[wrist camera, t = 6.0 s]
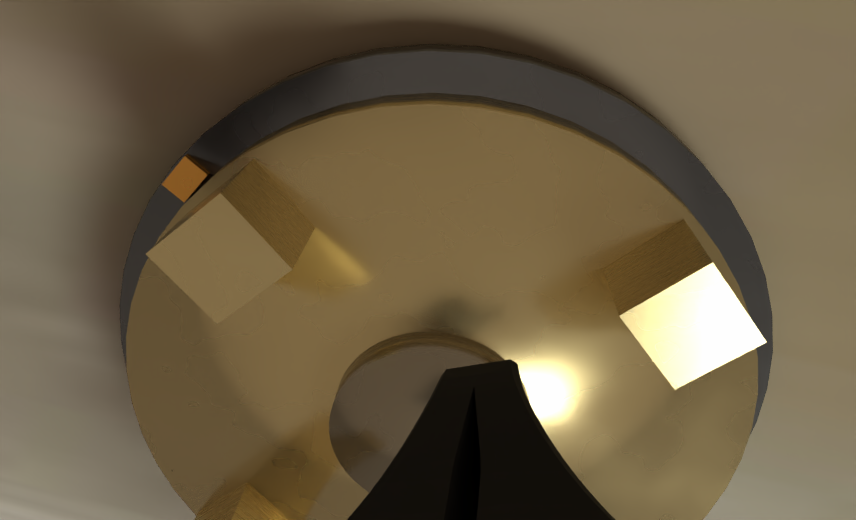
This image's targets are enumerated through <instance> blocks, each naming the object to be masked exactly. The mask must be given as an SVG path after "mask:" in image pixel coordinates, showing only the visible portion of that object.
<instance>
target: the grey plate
mask: <svg viewBox="0 0 856 520" xmlns="http://www.w3.org/2000/svg"><path fill="white" fill-rule="evenodd" d="M419 93H446V94H460V95H473V96H483V97H488V98H493V99H498V100H502V101H507V102H512V103H517V104H522V105H527V106H530V107H533V108H535V109H538V110H541V111H544V112H547V113H550V114H553V115H555V116H558V117H561V118H564V119H567V120H570V121H572V122H574V123H576V124H578V125H580V126H582V127H584V128H586V129H588V130H590V131H592V132H594V133H596V134H598V135H600V136H602V137H603V138H605V139H607V140H609V141H611V142H613V143H614V144H616V145H617V146H619V147H620V148H621V149H623V150H624V151H626V152H627V153H629V154H630V155H631V156H633V157H634V158H636V159H637V160H639V161H640V162H641V163H643V164H644V165H646V166H647V167H648V168H649V169H651V170H652V171H653V172H654V173H655V174H656V175H657V176H658V177H659V178H660V179H661V180H662V181H663V182H664V183H665V184H666V185H667V186H669V187H670V188H671V189H672V190H673V191H674V192H675V193H676V194H677V195H678V196H679V197H680V198H681V200H682V201H683V202H684V203H685V205H686V206H687V207H688V209H689V210H690V211H691V212H692V214H693V215H694V216H695V218H696V219H697V220H698V221H699V223H700V224H701V225H702V227H703V228H704V229H705V231H706V232H707V233H708V235H709V236H710V238H711V239H712V240H713V242H714V243H715V245H716V246H717V247H718V249H719V250H720V252H721V254H722V256H723V258H724V259H725V261H726V263H727V265H728V267H729V268H730V270H731V272H732V274H733V276H734V277H735V279H736V281H737V283H738V285H739V287H740V290H741V293H742V296H743V299H744V301H745V304H746V307H747V310H748V313H749V315H750V318H751V320H752V321H753V323H754V324H755V326H756V327H757V329H758V330H759V332H760V333H761V335H762V336H763V338H764V339H765V341H766V343H764V344H762V345H760V346H758V347H756V350H757V355H758V396H757V402H756V408H755V414H754V420H753V426H752V429H751V432H752V430H753V428H754V426H755V424H756V422H757V418H758V415H759V412H760V409H761V406H762V403H763V400H764V397H765V393H766V390H767V386H768V379H769V373H770V366H771V360H772V353H773V342H772V311H771V305H770V300H769V294H768V289H767V283H766V277H765V274H764V271H763V268H762V265H761V263H760V260H759V257H758V254H757V252H756V249H755V246H754V243H753V240H752V238H751V236H750V234H749V232H748V230H747V228H746V227H745V225H744V223H743V221H742V219H741V218H740V216H739V214H738V212H737V210H736V209H735V207H734V205H733V203H732V201H731V200H730V198H729V197H728V196H727V194H726V193H725V192H724V191H723V189H722V188H721V187H720V186H719V184H718V183H717V182H716V180H715V179H714V178H713V177H712V175H711V174H710V173H709V172H708V170H707V169H706V168H705V166H704V165H703V164H702V163H701V162H700V161H699V159H698V158H697V157H696V156H695V155H694V154H693V153H692V152H691V151H690V150H689V149H688V148H687V147H686V146H685V145H684V144H683V143H682V142H681V141H680V140H679V139H678V138H677V137H675V136H674V135H673V134H672V133H671V132H670V131H669V130H668V129H667V128H666V127H665V126H664V125H663V124H662V123H661V122H659V121H658V120H657V119H656V118H654V117H653V116H651V115H650V114H649V113H647V112H646V111H644V110H643V109H641V108H640V107H638V106H637V105H636V104H634V103H633V102H631V101H630V100H628V99H627V98H625V97H624V96H623V95H621V94H620V93H618V92H616V91H614V90H612V89H610V88H608V87H606V86H604V85H602V84H600V83H598V82H596V81H594V80H592V79H590V78H588V77H586V76H584V75H582V74H580V73H578V72H576V71H573V70H570V69H567V68H564V67H561V66H558V65H555V64H552V63H549V62H546V61H543V60H540V59H537V58H534V57H531V56H527V55H522V54H517V53H511V52H506V51H501V50H496V49H490V48H485V47H478V46H459V45H440V44H425V45H413V46H401V47H389V48H380V49H375V50H371V51H366V52H362V53H358V54H353V55H349V56H344V57H340V58H335V59H332V60H330V61H327V62H324V63H322V64H319V65H317V66H314V67H311V68H309V69H306V70H303V71H301V72H298V73H295V74H293V75H290V76H289V77H287V78H285V79H283V80H281V81H280V82H278V83H276V84H274V85H272V86H271V87H269V88H267V89H265V90H263V91H262V92H260V93H258V94H256V95H254V96H253V97H251V98H250V99H248V100H247V101H246V102H244V103H243V104H242V105H241V106H239V107H238V108H237V109H235V110H234V111H233V112H231V113H230V114H229V115H228V116H226V117H225V118H224V119H222V120H221V121H220V122H218V123H217V124H216V125H215V126H213V127H212V128H211V129H209V130H208V131H207V132H205V133H204V134H203V135H202V136H201V137H200V138H199V139H198V140H197V141H196V142H195V143H194V144H193V145H192V146H191V147H190V149H189V150H188V151H187V152H186V153H185V154H184V155H183V156H182V157H181V158H180V159H179V160H178V161H177V162H176V163H175V164H174V165H173V167H172V168H171V170H170V171H169V173H168V174H167V176H166V177H165V179H164V180H163V181H162V183H161V184H160V186H159V187H158V189H157V190H156V192H155V193H154V195H153V196H152V197H151V199H150V201H149V203H148V205H147V208H146V210H145V212H144V214H143V216H142V218H141V220H140V222H139V225H138V227H137V229H136V231H135V233H134V236H133V240H132V243H131V247H130V250H129V254H128V257H127V261H126V264H125V268H124V274H123V282H122V291H121V299H120V323H121V342H122V347H123V353H124V358H125V363H126V335H127V328H128V321H129V314H130V307H131V302H132V299H133V296H134V293H135V290H136V287H137V284H138V280H139V277H140V274H141V271H142V269H143V267H144V265H145V263H146V261H147V259H148V256H147V255H146V253H147V252H148V251H149V250H150V249H151V248H152V247H153V246H154V245H155V244H156V242H157V240H158V238H159V236H160V235H161V234H162V232H163V231H164V230H165V228H166V227H167V226H168V224H169V223H170V222H171V220H172V219H173V218H174V216H175V215H176V214H177V212H178V211H179V210H180V208H181V207H182V206H183V205H184V204H185V203H186V202H187V201H188V200H189V199H190V198H191V197H192V196H193V195H194V194H195V193H196V192H197V191H198V190H199V189H200V188H201V187H202V186H204V185H205V184H206V183H207V182H208V181H209V180H210V179H211V178H212V177H213V176H214V175H215V174H216V173H217V172H218V171H219V170H220V169H221V168H222V167H223V166H224V165H226V164H227V163H228V162H229V161H230V160H231V159H233V158H234V157H236V156H237V155H239V154H240V153H241V152H243V151H244V150H246V149H247V148H248V147H250V146H251V145H253V144H254V143H255V142H257V141H258V140H260V139H261V138H263V137H265V136H267V135H269V134H271V133H272V132H274V131H276V130H278V129H280V128H282V127H284V126H286V125H288V124H290V123H292V122H294V121H296V120H298V119H300V118H303V117H306V116H309V115H312V114H315V113H318V112H320V111H323V110H326V109H329V108H332V107H335V106H338V105H341V104H345V103H350V102H356V101H361V100H366V99H371V98H376V97H381V96H386V95H402V94H419ZM126 368H127V364H126ZM751 432H750V434H751ZM749 436H750V435H749Z"/></svg>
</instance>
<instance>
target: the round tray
mask: <svg viewBox="0 0 856 520" xmlns="http://www.w3.org/2000/svg"><path fill="white" fill-rule="evenodd" d="M146 255H147V256H148V259H147V261H146V263H145V265H144V267H143V269H142V271H141V274H140V277H139V280H138V284H137V287H136V290H135V293H134V296H133V299H132V302H131V307H130V314H129V321H128V328H127V335H126V364H127V376H128V382H129V388H130V393H131V399H132V404H133V407H134V410H135V413H136V416H137V419H138V422H139V425H140V428H141V431H142V434H143V436H144V438H145V440H146V442H147V444H148V447H149V449H150V451H151V453H152V455H153V457H154V459H155V461H156V463H157V464H158V466H159V467H160V469H161V470H162V472H163V473H164V475H165V477H166V478H167V480H168V481H169V483H170V484H171V486H172V487H173V489H174V490H175V491H176V492H177V494H178V495H179V496H180V497H181V498H182V500H183V501H184V502H185V503H186V504H187V505H188V507H189V508H190V509H191V510H192V511H193V513H194V514H195V515H196V518H195V520H347V519H348V518H349V517H350V515H351V514H352V513H353V512H354V511H355V510H356V508H357V507H358V506H359V505H360V504H361V502H362V501H363V500H364V499H365V497H366V496H367V495H368V494H369V492H370V491H371V490H372V488H373V487H374V486H375V484H376V483H377V482H378V480H379V479H380V478H381V476H382V475H383V473H384V472H385V470H386V469H387V467H388V466H389V465H390V463H391V462H392V460H393V459H394V457H395V456H396V454H397V453H398V451H399V450H400V448H401V447H402V445H403V444H404V442H405V440H406V439H407V437H408V435H409V434H410V432H411V430H412V429H413V427H414V425H415V424H416V422H417V420H418V419H419V417H420V415H421V413H422V412H423V410H424V408H425V406H426V404H427V403H428V401H429V399H430V397H431V395H432V393H433V391H434V389H435V387H436V385H437V383H438V381H439V379H440V377H441V375H442V374H443V373H444V371H445V370H446V369H450V368H457V367H464V366H470V365H477V364H483V363H490V362H496V361H503V360H509V359H511V360H512V361H514V362H516V363H517V364H518V368H519V372H520V377H521V382H522V386H523V389H524V391H525V394H526V396H527V398H528V400H529V403H530V405H531V406H532V408H533V410H534V412H535V414H536V416H537V418H538V419H539V421H540V423H541V425H542V426H543V428H544V430H545V432H546V433H547V435H548V436H549V438H550V439H551V441H552V443H553V444H554V446H555V447H556V448H557V450H558V451H559V453H560V454H561V456H562V457H563V459H564V460H565V461H566V463H567V464H568V465H569V467H570V468H571V469H572V471H573V472H574V473H575V475H576V476H577V477H578V478H579V480H580V481H581V482H582V483H583V484H584V486H585V487H586V488H587V489H588V490H589V492H590V493H591V494H592V495H593V496H594V497H595V498H596V499H597V501H598V502H599V503H600V504H601V505H602V506H603V507H604V508H605V509H606V511H607V512H608V513H609V514H610V515H611V516H612V517H614V518H615V519H616V520H703V519H704V518H705V517H706V515H707V514H708V513H709V511H710V510H711V509H712V507H713V506H714V504H715V503H716V502H717V500H718V499H719V498H720V496H721V495H722V493H723V492H724V491H725V489H726V488H727V486H728V484H729V482H730V480H731V478H732V476H733V474H734V472H735V470H736V468H737V467H738V465H739V463H740V461H741V459H742V456H743V453H744V450H745V447H746V444H747V441H748V438H749V435H750V432H751V429H752V426H753V420H754V414H755V408H756V402H757V396H758V355H757V350H756V347H758V346H760V345H762V344H764V343H766V341H765V339H764V338H763V336H762V335H761V333H760V332H759V330H758V329H757V327H756V326H755V324H754V323H753V321H752V320H751V318H750V315H749V313H748V310H747V307H746V304H745V301H744V299H743V296H742V293H741V290H740V287H739V285H738V283H737V281H736V279H735V277H734V276H733V274H732V272H731V270H730V268H729V267H728V265H727V263H726V261H725V259H724V258H723V256H722V254H721V252H720V250H719V249H718V247H717V246H716V245H715V243H714V242H713V240H712V239H711V238H710V236H709V235H708V233H707V232H706V231H705V229H704V228H703V227H702V225H701V224H700V223H699V221H698V220H697V219H696V218H695V216H694V215H693V214H692V212H691V211H690V210H689V209H688V207H687V206H686V205H685V203H684V202H683V201H682V200H681V198H680V197H679V196H678V195H677V194H676V193H675V192H674V191H673V190H672V189H671V188H670V187H669V186H667V185H666V184H665V183H664V182H663V181H662V180H661V179H660V178H659V177H658V176H657V175H656V174H655V173H654V172H653V171H652V170H651V169H649V168H648V167H647V166H646V165H644V164H643V163H641V162H640V161H639V160H637V159H636V158H634V157H633V156H631V155H630V154H629V153H627V152H626V151H624V150H623V149H621V148H620V147H619V146H617V145H616V144H614V143H613V142H611V141H609V140H607V139H605V138H603V137H602V136H600V135H598V134H596V133H594V132H592V131H590V130H588V129H586V128H584V127H582V126H580V125H578V124H576V123H574V122H572V121H570V120H567V119H564V118H561V117H558V116H555V115H553V114H550V113H547V112H544V111H541V110H538V109H535V108H533V107H530V106H527V105H522V104H517V103H512V102H507V101H502V100H498V99H493V98H488V97H483V96H473V95H460V94H446V93H419V94H402V95H386V96H381V97H376V98H371V99H366V100H361V101H356V102H350V103H345V104H341V105H338V106H335V107H332V108H329V109H326V110H323V111H320V112H318V113H315V114H312V115H309V116H306V117H303V118H300V119H298V120H296V121H294V122H292V123H290V124H288V125H286V126H284V127H282V128H280V129H278V130H276V131H274V132H272V133H271V134H269V135H267V136H265V137H263V138H261V139H260V140H258V141H257V142H255V143H254V144H253V145H251V146H250V147H248V148H247V149H246V150H244V151H243V152H241V153H240V154H239V155H237V156H236V157H234V158H233V159H231V160H230V161H229V162H228V163H227V164H226V165H224V166H223V167H222V168H221V169H220V170H219V171H218V172H217V173H216V174H215V175H214V176H213V177H212V178H211V179H210V180H209V181H208V182H207V183H206V184H205V185H204V186H202V187H201V188H200V189H199V190H198V191H197V192H196V193H195V194H194V195H193V196H192V197H191V198H190V199H189V200H188V201H187V202H186V203H185V204H184V205H183V206H182V207H181V208H180V210H179V211H178V212H177V214H176V215H175V216H174V218H173V219H172V220H171V222H170V223H169V224H168V226H167V227H166V228H165V230H164V231H163V232H162V234H161V235H160V236H159V238H158V240H157V242H156V244H155V245H154V246H153V247H152V248H151V249H150V250H149V251H148V252H147V253H146Z"/></svg>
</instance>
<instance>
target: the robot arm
mask: <svg viewBox="0 0 856 520" xmlns="http://www.w3.org/2000/svg"><path fill="white" fill-rule="evenodd" d="M347 520H616V519H615V518H614V517H612V516H611V515H610V514H609V513H608V512H607V511H606V509H605V508H604V507H603V506H602V505H601V504H600V503H599V502H598V501H597V499H596V498H595V497H594V496H593V495H592V494H591V493H590V492H589V490H588V489H587V488H586V487H585V486H584V484H583V483H582V482H581V481H580V480H579V478H578V477H577V476H576V475H575V473H574V472H573V471H572V469H571V468H570V467H569V465H568V464H567V463H566V461H565V460H564V459H563V457H562V456H561V454H560V453H559V451H558V450H557V448H556V447H555V446H554V444H553V443H552V441H551V439H550V438H549V436H548V435H547V433H546V432H545V430H544V428H543V426H542V425H541V423H540V421H539V419H538V418H537V416H536V414H535V412H534V410H533V408H532V406H531V405H530V403H529V400H528V398H527V396H526V394H525V391H524V389H523V386H522V382H521V377H520V372H519V368H518V364H517V363H516V362H514V361H512V360H511V359H509V360H503V361H496V362H490V363H483V364H477V365H470V366H464V367H457V368H450V369H446V370H445V371H444V373H443V374H442V375H441V377H440V379H439V381H438V383H437V385H436V387H435V389H434V391H433V393H432V395H431V397H430V399H429V401H428V403H427V404H426V406H425V408H424V410H423V412H422V413H421V415H420V417H419V419H418V420H417V422H416V424H415V425H414V427H413V429H412V430H411V432H410V434H409V435H408V437H407V439H406V440H405V442H404V444H403V445H402V447H401V448H400V450H399V451H398V453H397V454H396V456H395V457H394V459H393V460H392V462H391V463H390V465H389V466H388V467H387V469H386V470H385V472H384V473H383V475H382V476H381V478H380V479H379V480H378V482H377V483H376V484H375V486H374V487H373V488H372V490H371V491H370V492H369V494H368V495H367V496H366V497H365V499H364V500H363V501H362V502H361V504H360V505H359V506H358V507H357V508H356V510H355V511H354V512H353V513H352V514H351V515H350V517H349V518H348V519H347Z"/></svg>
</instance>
